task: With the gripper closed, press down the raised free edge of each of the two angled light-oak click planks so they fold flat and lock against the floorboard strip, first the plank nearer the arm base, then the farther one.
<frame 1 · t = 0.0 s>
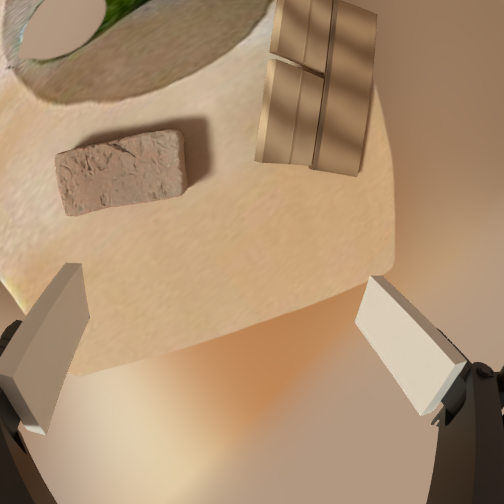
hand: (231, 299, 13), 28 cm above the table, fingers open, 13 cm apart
brick: (125, 168, 36), on the table
plank b: (292, 115, 33), point 3 cm above the table, hinge at 32.0°
plank a: (304, 21, 28), point 3 cm above the table, hinge at 32.0°
floorboard: (344, 83, 35), on the table
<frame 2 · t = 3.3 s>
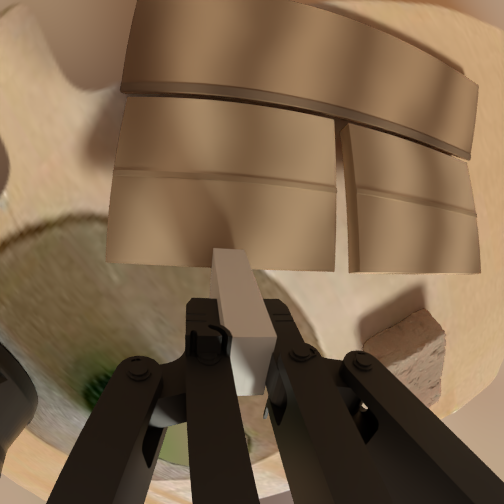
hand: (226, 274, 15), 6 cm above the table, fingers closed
brick: (397, 364, 31), on the table
plank b: (423, 206, 18), point 3 cm above the table, hinge at 32.0°
plank a: (227, 181, 15), point 3 cm above the table, hinge at 25.3°, touching gripper
floorboard: (338, 67, 16), on the table
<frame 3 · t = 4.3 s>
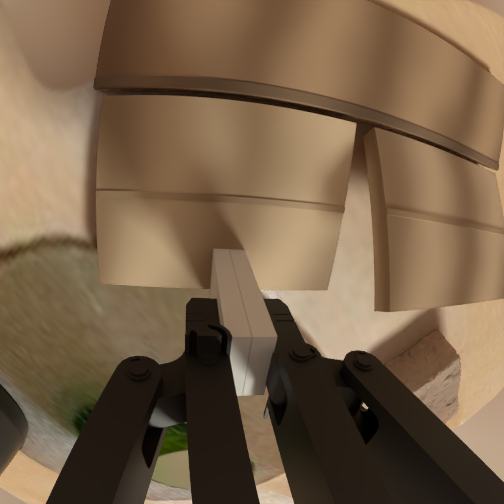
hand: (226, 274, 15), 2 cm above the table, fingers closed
brick: (411, 384, 28), on the table
plank b: (455, 226, 14), point 3 cm above the table, hinge at 32.0°
plank a: (223, 196, 14), point 1 cm above the table, hinge at 4.4°, touching gripper
floorboard: (359, 60, 13), on the table
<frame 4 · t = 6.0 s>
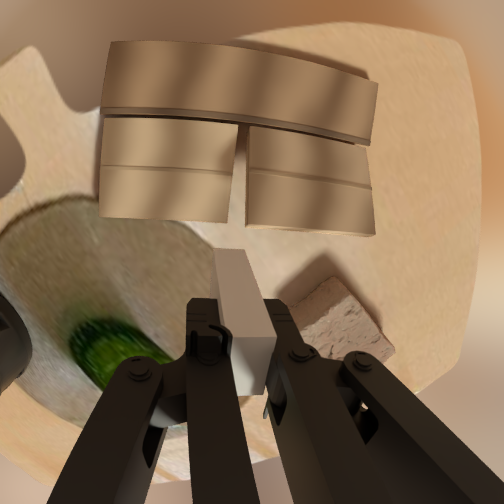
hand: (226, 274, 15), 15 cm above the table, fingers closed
brick: (338, 326, 39), on the table
plank b: (313, 181, 26), point 3 cm above the table, hinge at 32.0°
plank a: (165, 169, 25), point 1 cm above the table, hinge at 4.2°
floorboard: (246, 86, 25), on the table
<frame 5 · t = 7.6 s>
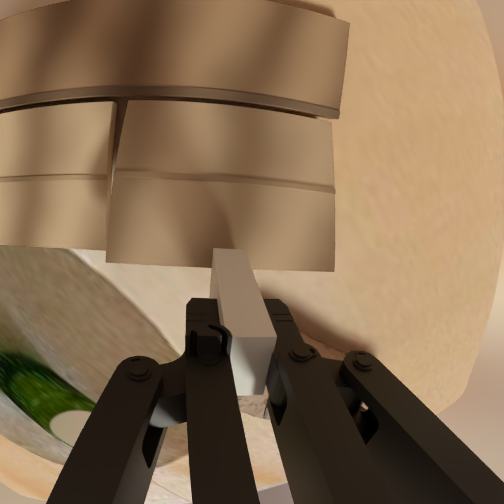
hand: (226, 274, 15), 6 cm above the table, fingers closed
brick: (306, 372, 28), on the table
plank b: (227, 182, 16), point 3 cm above the table, hinge at 27.3°, touching gripper
plank a: (28, 177, 15), point 1 cm above the table, hinge at 4.2°
floorboard: (134, 45, 14), on the table
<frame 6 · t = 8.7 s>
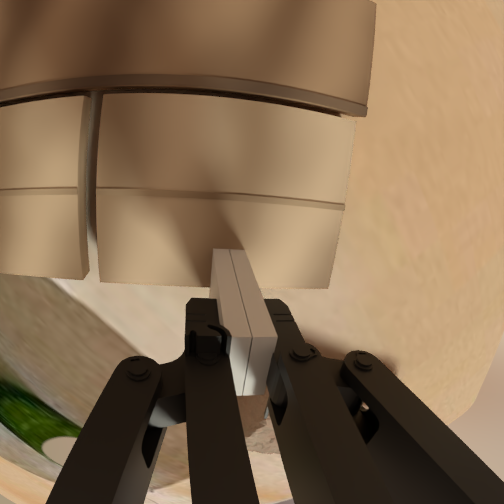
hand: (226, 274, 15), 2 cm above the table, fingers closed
brick: (318, 398, 25), on the table
plank b: (224, 194, 14), point 1 cm above the table, hinge at 4.8°, touching gripper
floorboard: (113, 27, 10), on the table
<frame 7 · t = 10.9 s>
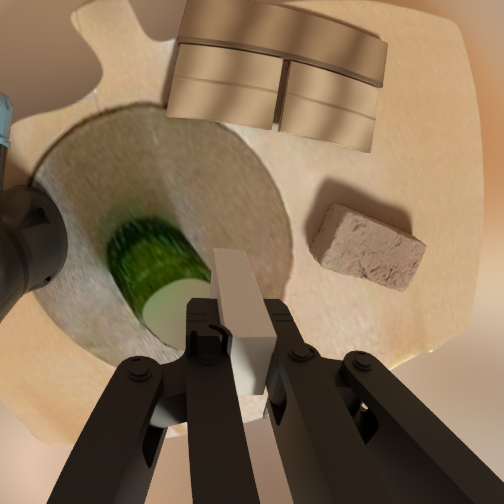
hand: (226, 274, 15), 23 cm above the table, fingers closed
brick: (364, 243, 42), on the table
plank b: (331, 107, 33), point 1 cm above the table, hinge at 4.7°
plank a: (225, 84, 30), point 1 cm above the table, hinge at 4.2°
floorboard: (289, 36, 29), on the table
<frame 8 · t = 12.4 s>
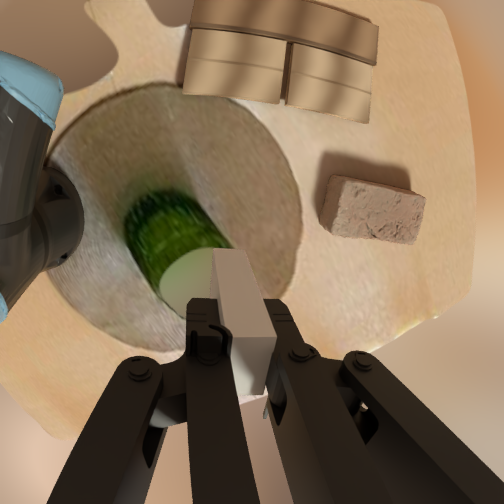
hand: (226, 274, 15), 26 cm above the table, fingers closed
brick: (368, 207, 45), on the table
plank b: (331, 83, 34), point 1 cm above the table, hinge at 4.7°
plank a: (235, 64, 32), point 1 cm above the table, hinge at 4.2°
floorboard: (290, 21, 31), on the table
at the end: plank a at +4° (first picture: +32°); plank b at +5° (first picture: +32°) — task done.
